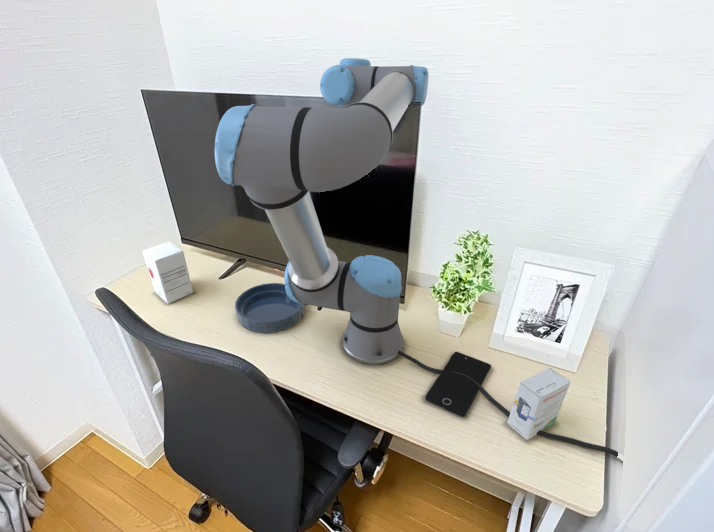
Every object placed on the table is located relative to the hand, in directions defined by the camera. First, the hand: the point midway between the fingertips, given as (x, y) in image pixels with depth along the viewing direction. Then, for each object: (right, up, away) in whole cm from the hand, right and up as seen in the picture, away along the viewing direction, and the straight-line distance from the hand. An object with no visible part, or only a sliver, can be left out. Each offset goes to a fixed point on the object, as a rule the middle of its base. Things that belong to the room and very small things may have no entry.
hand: (344, 213), depth 114 cm
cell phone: (+25, -43, -20) cm, 53 cm away
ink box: (+36, -49, -29) cm, 68 cm away
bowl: (-21, -27, +5) cm, 35 cm away
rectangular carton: (-52, -22, +15) cm, 59 cm away
